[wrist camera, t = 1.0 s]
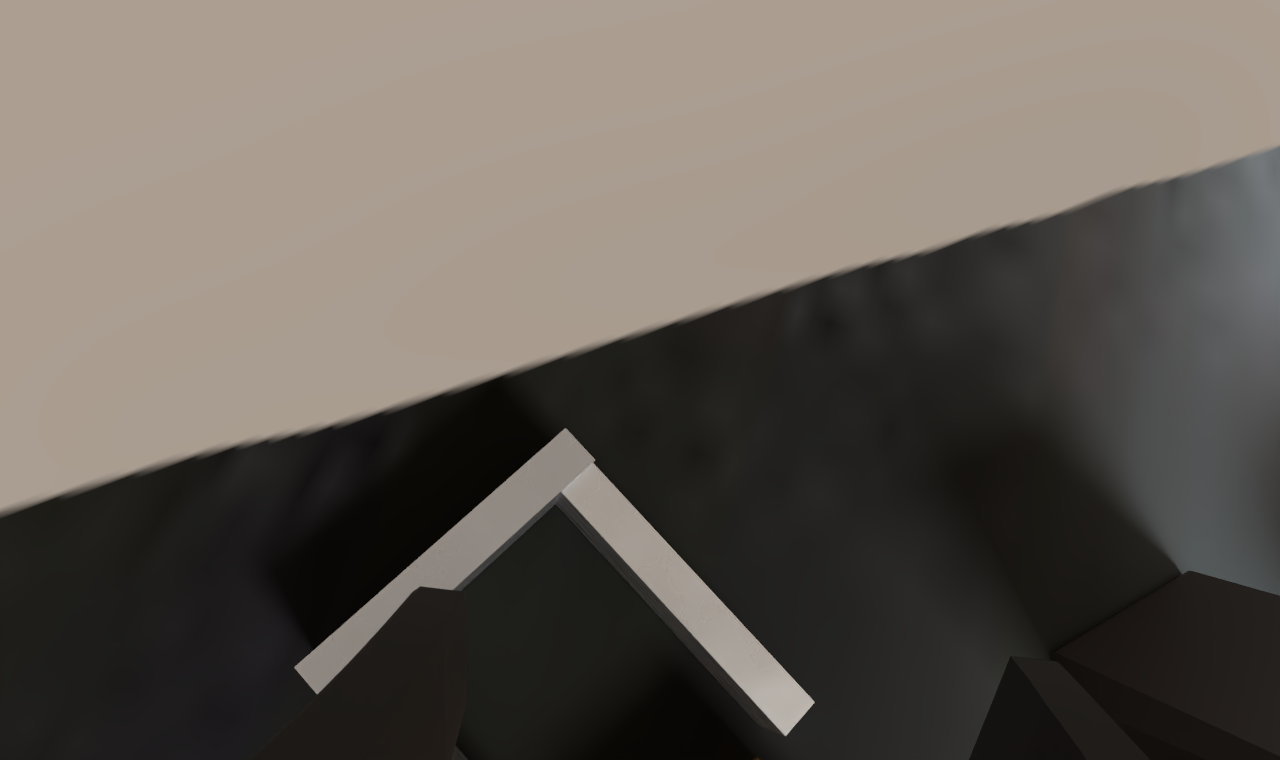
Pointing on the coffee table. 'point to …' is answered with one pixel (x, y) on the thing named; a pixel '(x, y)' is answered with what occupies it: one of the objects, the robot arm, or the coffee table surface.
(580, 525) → the coupler channel
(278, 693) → the coffee table surface
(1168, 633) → the dark tent-shaped stand
